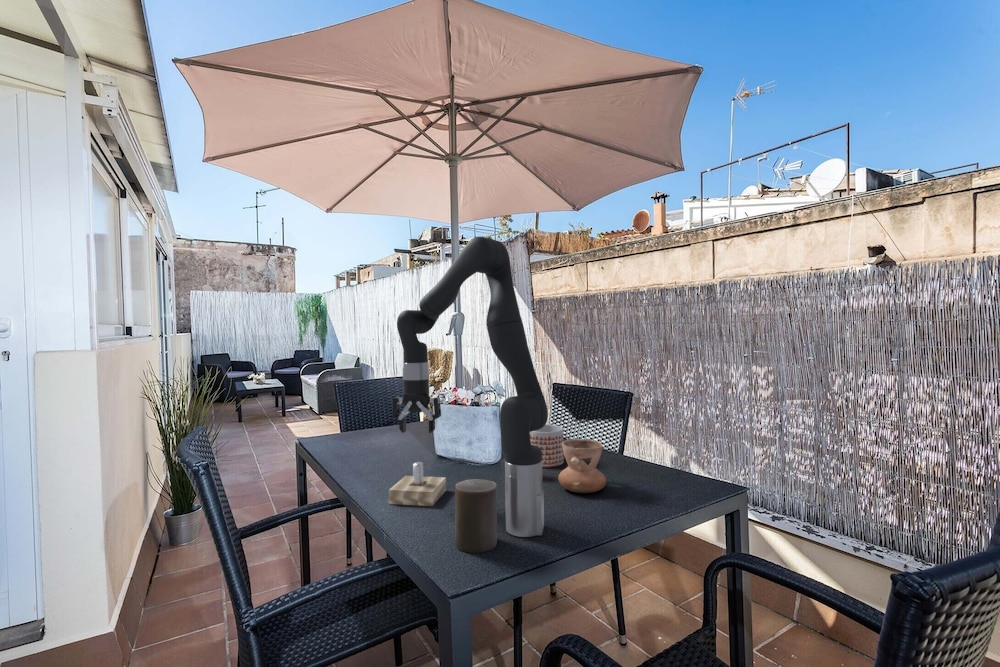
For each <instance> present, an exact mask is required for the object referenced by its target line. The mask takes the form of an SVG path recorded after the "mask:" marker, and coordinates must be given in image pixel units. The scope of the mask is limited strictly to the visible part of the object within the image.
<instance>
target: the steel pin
mask: <svg viewBox="0 0 1000 667" xmlns="http://www.w3.org/2000/svg"><path fill="white" fill-rule="evenodd" d="M412 476H413V486H423V476H424V462H422V461H415V462H413V463H412Z"/></svg>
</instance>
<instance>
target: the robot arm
mask: <svg viewBox="0 0 1000 667" xmlns="http://www.w3.org/2000/svg"><path fill="white" fill-rule="evenodd" d="M511 266H512V265H511V261H510V255H509V251H508V248H507V246H505V244H504V243H502V242H501V241H499V240H497V239H491V238H488V237H485V236H476V237H473V238H472V239H471V240H469V241H468V242H467V243H466V245H465V246H464V247H463V248H462V250H461V251H460V252H459V254H458V256H456V258H455V260H454V261H453V262H452V264H451V265H450V267H449V268H448V269H447V271H446V272H445V273H444V275H443V276H442V278H441V279H440V280H438V282H437V283H436V284H435V285H434V286H433V287H432V288H431V289H430V290H428V292H427V293H426V294H425V295H424V296H422V298H421V300H420V301H419V304H418V306H419V310H418V309H417V310H415V309H414V310H411V309H407V310H403V311H401V312H400V313H399V314H398V317H397V319H396V327H397V332H398V336H399V339H400V343H401V345H402V350H403V351H402V352H403V354H402V355H403V367H402V380H403V381H402V382H403V384H402V386H403V389H402V390H403V392H402V393H403V397H400V396H396V397H393V398H392V418H393V419H397V420H398V425H399V431H401V433H406V431H407V419H406V417H407V415H408V414H409V413H423V414H424V415H426V417H427V418H428V433H429V434H432V433H434V431H435V430H436V419H439V418H441V417H442V406H441V397H440V396H437V397H436V396H435V397H430V371H429V370H430V369H429V363H428V362H429V359H428V357H429V356H428V346H427V343H425V342H422V341H419V338H418V335H420V334H421V335H422V334H425V333H428V332H429V331H430V330H432V328H433V327H434V326H435V324H436V323H437V322H438V320H439V317H440V316H441V315H442V314H443V313H445V311H447V310H448V309H449V308H450V307H451V305H453V303H454V302H455V301H456V299H457V298H458V295H459V291H460V289H461V286H462V285H463V283H465V281H467V280H468V279H469V278H470V277H471V276H473V275H475V274H476V273H478V274H479V273H480V274H484V275H485V277H486V279H487V280H486V281H487V282H488V287H489V292H490V301H489V306H488V309H487V315H486V330H487V334H488V338H489V344H490V347H491V349H492V351H493V353H494V355H495V356H496V357H497V359H498V360H499V362H500V363H501V364H502V365H503V367H504V368H505V369H506V371H507V372H508V373H509V375H510V377H511V379H512V381H513V383H514V387H515V391H516V395H515V396H511V397H508V398H506V399H505V400H504V401H503V402H502V404H501V406H500V411H499V426H500V427H499V428H500V441H501V442H500V443H501V449H502V451H503V454H504V492H505V494H504V497H505V530H506V532H507V533H508V534H510V535H512V536H515V537H520V538H529V537H530V538H531V537H535V536H543V532H544V527H545V505H544V504H545V501H544V500H545V499H544V497H545V494H544V493H545V492H544V491H545V490H544V488H543V487H544V486H543V468H542V450H541V449H540V448H539V447H537V446H535V445H531V442H530V432H532V431H535V430H539V429H541V428H543V427H544V426H545V424H547V422H548V418H549V411H548V406H547V403H546V400H545V397H544V396H545V395H544V393H543V390H542V388H541V385H540V383H539V380H538V376H537V373H536V370H535V367H534V364H533V360H532V356H531V353H530V348H529V344H528V342H527V334H526V331H525V327H524V323H523V320H522V317H521V313H520V307H519V305H518V300H517V295H516V292H515V286H514V283H513V282H514V281H513V274H512V267H511ZM402 403H403V405H404V406H405V407H404V408H403V409H402V411H401V410H400V408H401V405H402ZM430 403H431V404H432V405H433V409H434V412H433V410H432V409H431V407H430V406H429V404H430ZM400 411H401V413H400Z"/></svg>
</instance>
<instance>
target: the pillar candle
mask: <svg viewBox="0 0 1000 667" xmlns="http://www.w3.org/2000/svg"><path fill="white" fill-rule="evenodd" d="M497 486H498V485H497V483H496V482H494V481H492V480H488V479H479V478H475V479H465V480H462V481H459V482H457V483H456V484H455V496H454V498H455V499H454V500H455V503H454V504H455V508H454V509H455V513H454V514H455V516H454V520H455V521H454V522H455V523H454V525H455V528H454V529H455V531H454V534H455V535H454V538H455V539H454V541H455V547H456V548H457V549H458V550H459V551H462V552H464V553H465V552H466V553H469V554H480V553H481V554H482V553H485V552H488V551H491V550H494V549H495V548H496V547H497V544H498V530H497V529H498V520H497V519H498V511H497V510H498V508H497V506H498V497H497V495H498V494H497V489H498V488H497Z"/></svg>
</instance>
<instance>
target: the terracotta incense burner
mask: <svg viewBox="0 0 1000 667" xmlns="http://www.w3.org/2000/svg"><path fill="white" fill-rule="evenodd" d="M562 447H563V457H564V458H565V461H566V463H567V466H566V468H564V469H562V470H561V471H560V473H559V474H558V477H557V478H558V479H557V480H558V482H559V484H560V485H561V487H563V488H564V490H565V489H566V490H567V491H570V492H573V493H576V494H591V493H596V492H598V491H601V490H602V489H604V487H606V485H607V477H606V475H605V474H604V473H603V472H601V470H599V469H597V466H598V463H599V461H600V458H601V455H602V452H603V447H604V446H603V443H602V442H599V441H598V440H594V439H593V440H592V439H588V438H571V439H566V440H563V442H562Z"/></svg>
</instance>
